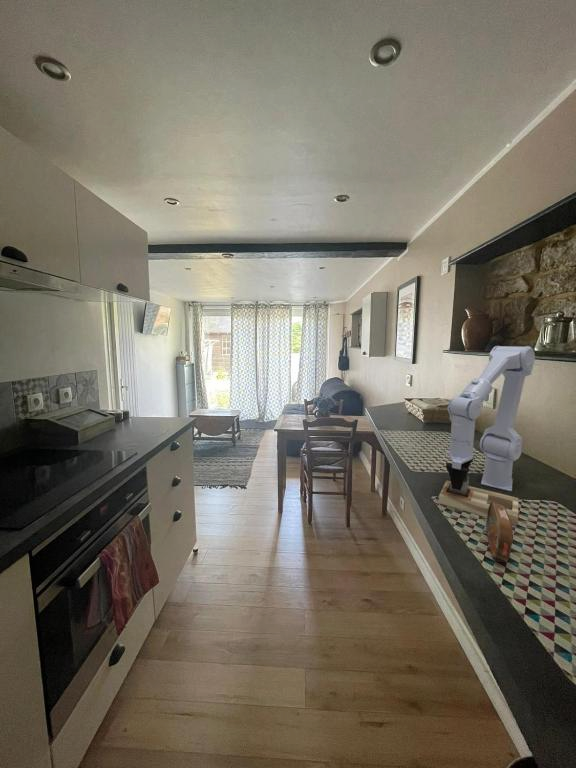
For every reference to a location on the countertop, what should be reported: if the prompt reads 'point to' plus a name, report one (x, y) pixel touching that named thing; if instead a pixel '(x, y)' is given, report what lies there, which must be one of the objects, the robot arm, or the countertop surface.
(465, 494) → the grey rectangular block
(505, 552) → the tin
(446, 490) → the rail plate
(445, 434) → the countertop surface
